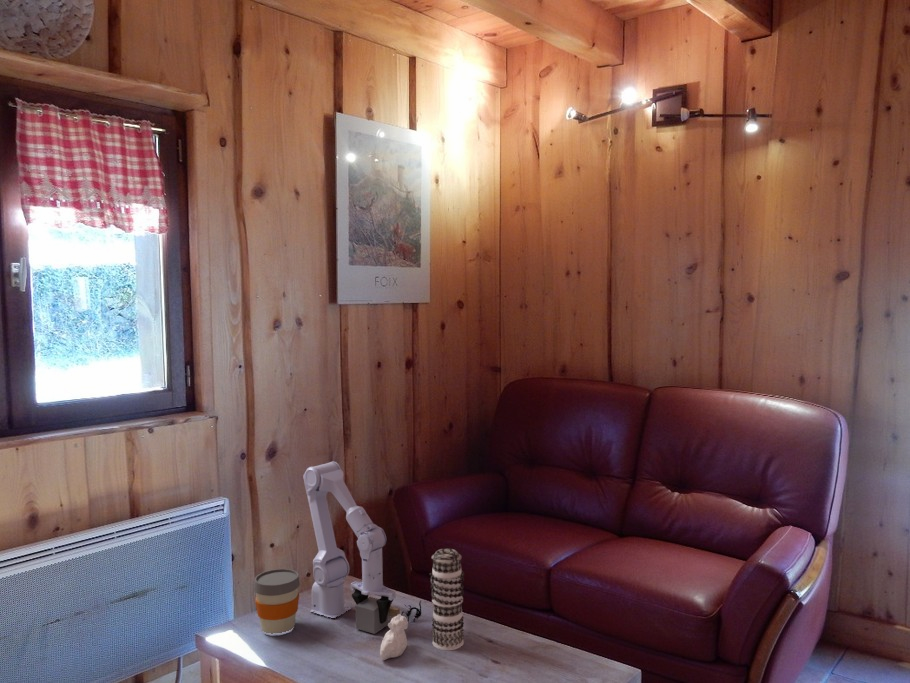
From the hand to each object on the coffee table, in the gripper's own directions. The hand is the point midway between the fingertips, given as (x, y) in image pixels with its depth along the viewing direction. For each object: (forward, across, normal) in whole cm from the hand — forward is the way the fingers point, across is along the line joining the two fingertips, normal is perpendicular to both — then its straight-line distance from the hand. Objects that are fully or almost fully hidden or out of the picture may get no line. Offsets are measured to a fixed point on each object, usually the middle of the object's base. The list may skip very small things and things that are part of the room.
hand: (373, 619), depth 198 cm
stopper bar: (+2, -2, +8) cm, 9 cm away
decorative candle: (+3, +23, +3) cm, 23 cm away
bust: (+3, +14, -9) cm, 17 cm away
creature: (+3, +6, +9) cm, 11 cm away
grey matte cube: (+2, 0, 0) cm, 2 cm away
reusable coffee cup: (+3, -23, -14) cm, 27 cm away
